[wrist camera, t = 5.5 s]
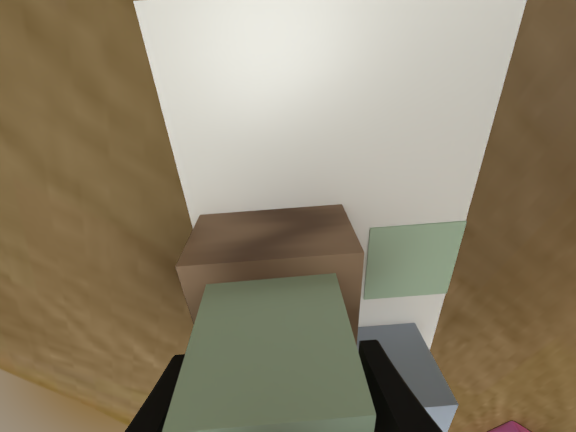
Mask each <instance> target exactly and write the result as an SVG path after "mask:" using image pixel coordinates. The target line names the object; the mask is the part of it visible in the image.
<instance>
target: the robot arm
mask: <svg viewBox="0 0 576 432" xmlns="http://www.w3.org/2000/svg"><path fill="white" fill-rule="evenodd" d="M358 353H359V356H360V360H361V363H362V367H363V370H364V374H365V377H366V381H367V384H368V388H369V391H370V395H371V398H372V402H373V405H374V409H375V412H376V421H375V428H374V432H443V431H442V430H441V429H440V427H439V426H438V425H437V424H436V422H435V421H434V420H433V419H432V417H431V416H430V415H429V414H428V412H427V411H426V410H425V408H424V407H423V406H422V404H421V403H420V402H419V400H418V399H417V398H416V396H415V395H414V394H413V392H412V391H411V390H410V388H409V387H408V385H407V384H406V383H405V381H404V380H403V378H402V377H401V375H400V374H399V372H398V371H397V370H396V368H395V367H394V365H393V364H392V362H391V360H390V359H389V357H388V356H387V354H386V353H385V351H384V349H383V348H382V346H381V344H380V343H379V341H378V340H376V339H375V340H362V341H359V352H358ZM184 356H185V354H183V355H175V356H174V357H173V358H172V359H171V361H170V363H169V364H168V366H167V368H166V369H165V371H164V372H163V374H162V376H161V377H160V379H159V381H158V382H157V384H156V385H155V387H154V388H153V390H152V392H151V393H150V395H149V396H148V398H147V399H146V401H145V402H144V404H143V405H142V407H141V408H140V410H139V411H138V413H137V414H136V416H135V417H134V419H133V420H132V422H131V423H130V425H129V426H128V428H127V429H126V430H125V432H162V430H163V426H164V423H165V420H166V416H167V413H168V410H169V406H170V403H171V400H172V396H173V393H174V390H175V386H176V383H177V380H178V376H179V373H180V370H181V366H182V363H183V360H184Z"/></svg>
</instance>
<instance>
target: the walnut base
mask: <svg viewBox="0 0 576 432" xmlns="http://www.w3.org/2000/svg"><path fill="white" fill-rule="evenodd" d="M363 263H364V250H363V248H362V246H361V244H360V242H359V240H358V238H357V235H356V233H355V231H354V229H353V227H352V225H351V222H350V220H349V218H348V216H347V214H346V212H345V210H344V207H343V205H342V204H337V205H323V206H310V207H297V208H283V209H270V210H257V211H243V212H230V213H216V214H203V215H199V218H198V220H197V222H196V224H195V226H194V228H193V230H192V232H191V234H190V237H189V239H188V241H187V243H186V245H185V247H184V249H183V251H182V253H181V256H180V258H179V260H178V262H177V264H176V266H175V268H176V271H177V274H178V277H179V280H180V283H181V286H182V290H183V293H184V296H185V299H186V302H187V305H188V308H189V311H190V314H191V318H192V321H193V324H194V323H195V320H196V316H197V313H198V310H199V306H200V303H201V300H202V296H203V293H204V290H205V286H206V284H216V283H227V282H239V281H250V280H262V279H273V278H285V277H296V276H308V275H320V274H331V273H336V276H337V279H338V283H339V286H340V290H341V293H342V297H343V300H344V304H345V307H346V311H347V314H348V318H349V321H350V325H351V328H352V332H353V335H354V339H355V342H356V346H357V335H358V323H359V311H360V299H361V287H362V275H363Z"/></svg>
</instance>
